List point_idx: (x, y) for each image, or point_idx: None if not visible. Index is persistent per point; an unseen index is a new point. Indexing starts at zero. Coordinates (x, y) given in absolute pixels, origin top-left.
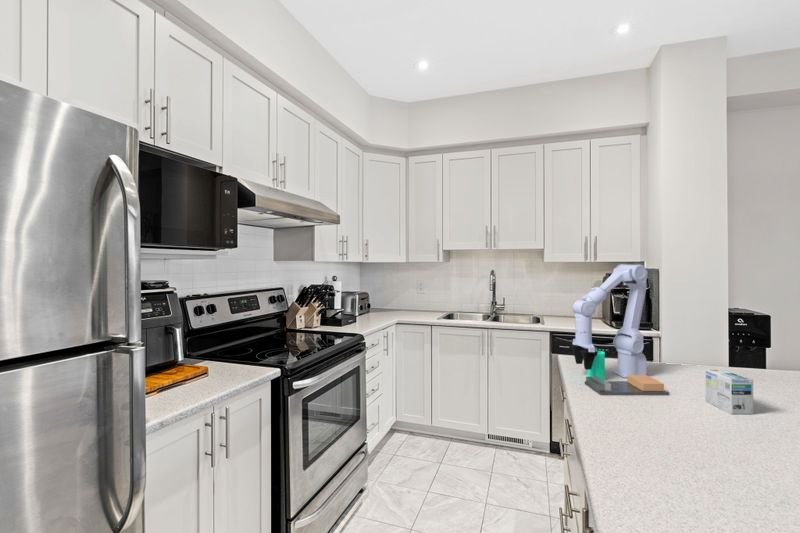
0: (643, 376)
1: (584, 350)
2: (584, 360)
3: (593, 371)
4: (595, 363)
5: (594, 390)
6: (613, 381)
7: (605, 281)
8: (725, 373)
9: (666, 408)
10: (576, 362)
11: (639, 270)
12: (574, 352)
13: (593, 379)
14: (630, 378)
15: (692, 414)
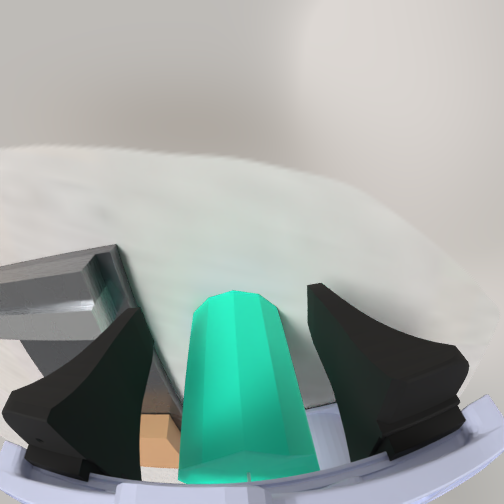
0: (167, 460)
1: (74, 452)
2: (82, 353)
3: (193, 348)
4: (183, 402)
5: (24, 262)
6: (159, 380)
7: None
8: None
9: (3, 386)
10: (311, 288)
11: None
12: (353, 342)
13: (44, 296)
14: (142, 432)
15: (4, 405)
